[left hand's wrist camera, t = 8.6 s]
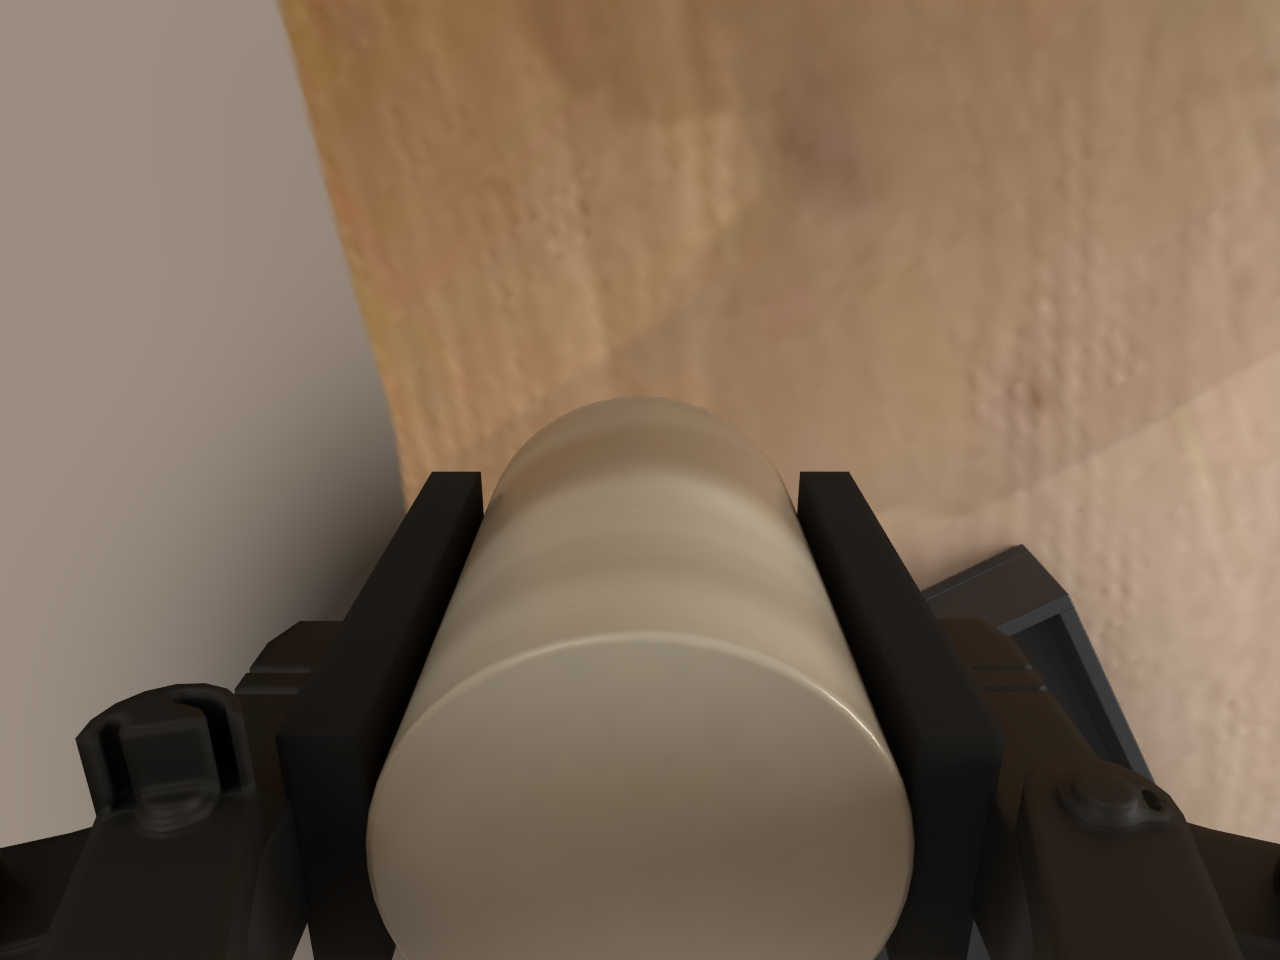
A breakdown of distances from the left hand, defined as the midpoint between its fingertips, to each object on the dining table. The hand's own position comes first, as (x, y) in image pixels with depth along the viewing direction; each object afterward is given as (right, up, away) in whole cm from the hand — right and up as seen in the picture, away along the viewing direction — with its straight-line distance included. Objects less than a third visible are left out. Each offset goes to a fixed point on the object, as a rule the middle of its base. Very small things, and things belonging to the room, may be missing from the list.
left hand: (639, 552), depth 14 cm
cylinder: (0, 0, 0) cm, 0 cm away
